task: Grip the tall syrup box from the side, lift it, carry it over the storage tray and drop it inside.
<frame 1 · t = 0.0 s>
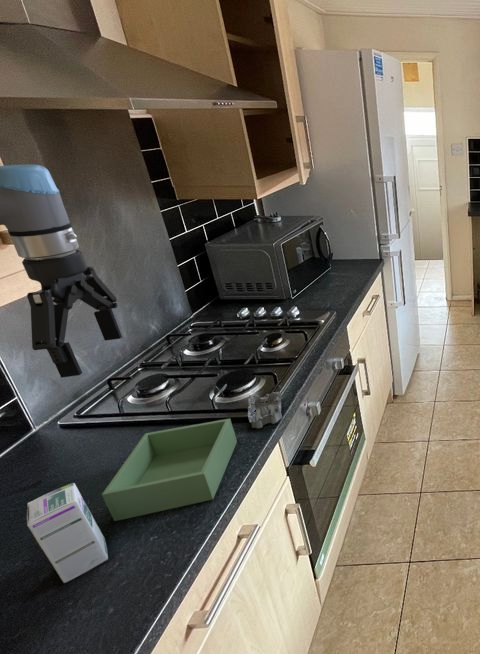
hand: (94, 355, 82), 29 cm above the worktop, tool pointing down, fingers open, 13 cm apart
syrup box: (85, 561, 73), on the worktop
storage tray: (182, 477, 90), on the worktop
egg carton: (267, 414, 109), on the worktop
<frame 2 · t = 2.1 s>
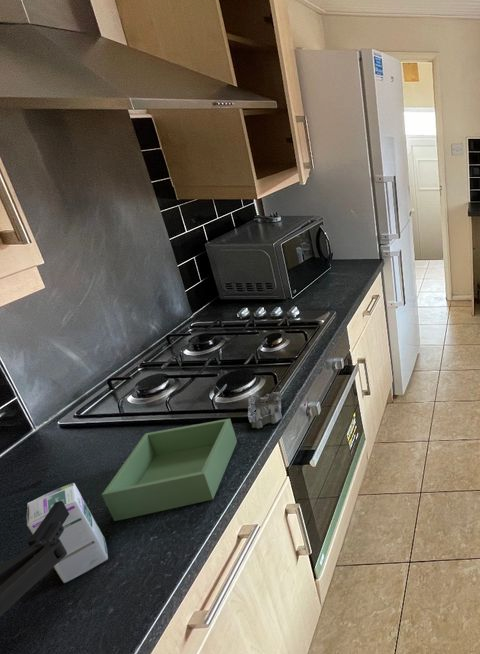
nothing on the worktop moved.
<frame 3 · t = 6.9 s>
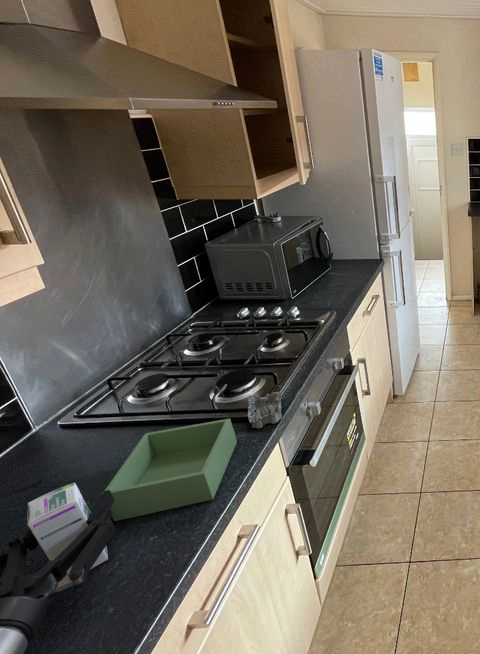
hand: (81, 503, 74), 9 cm above the worktop, tool horizontal, fingers closed on syrup box, 7 cm apart
syrup box: (85, 561, 73), on the worktop, touching gripper
everything else where it was.
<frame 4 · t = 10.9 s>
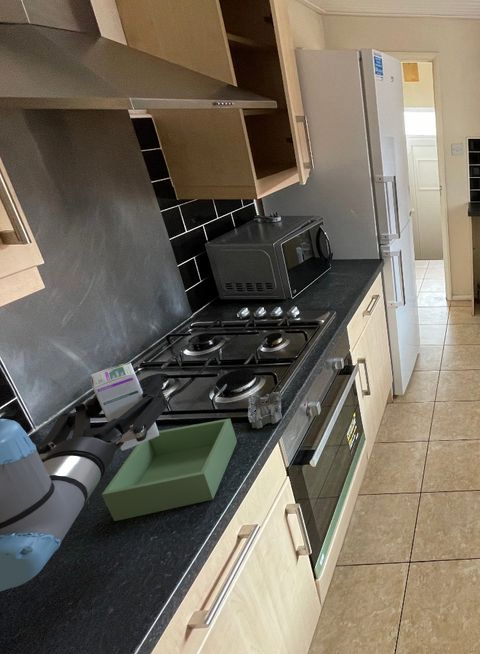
hand: (134, 385, 81), 24 cm above the worktop, tool horizontal, fingers closed on syrup box, 7 cm apart
syrup box: (138, 437, 80), point 15 cm above the worktop, touching gripper
everything else where it was.
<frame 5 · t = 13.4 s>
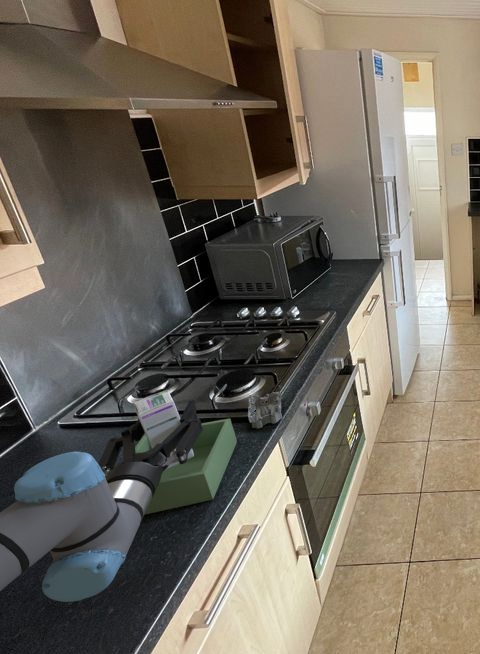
hand: (170, 410, 89), 14 cm above the worktop, tool horizontal, fingers closed on syrup box, 7 cm apart
syrup box: (175, 458, 88), point 5 cm above the worktop, touching gripper
everything else where it was.
when the fingers open (9 cm above the worktop, at t = 15.2 s): syrup box stays where it is, resting on storage tray.
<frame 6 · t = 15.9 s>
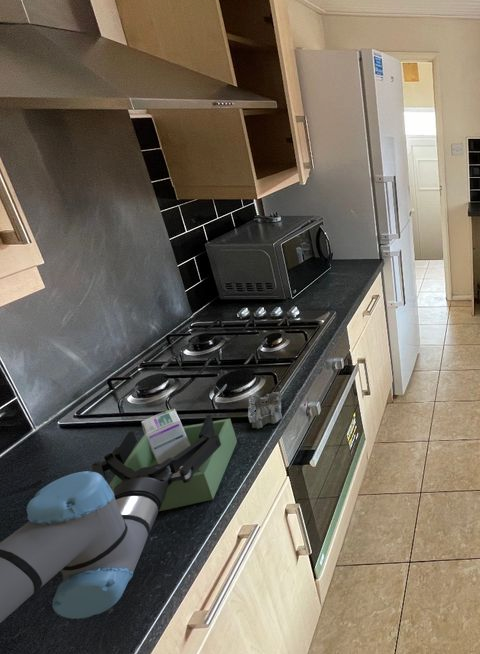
hand: (172, 427, 89), 11 cm above the worktop, tool horizontal, fingers open, 13 cm apart
syrup box: (181, 474, 89), point 1 cm above the worktop, touching storage tray
everything else where it was.
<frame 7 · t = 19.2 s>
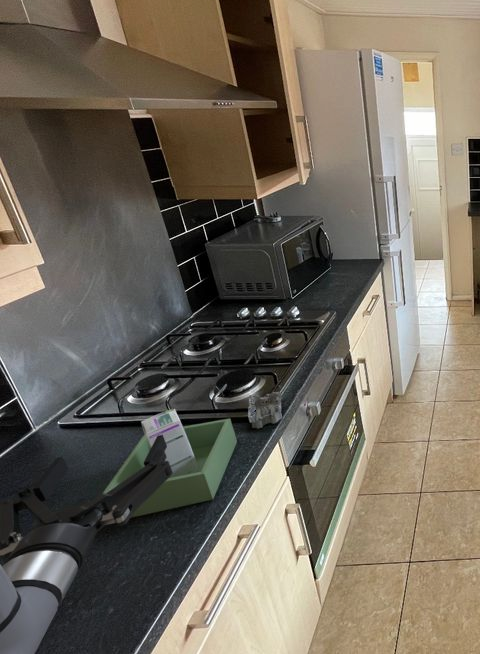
hand: (114, 451, 72), 19 cm above the worktop, tool horizontal, fingers open, 13 cm apart
nothing on the worktop moved.
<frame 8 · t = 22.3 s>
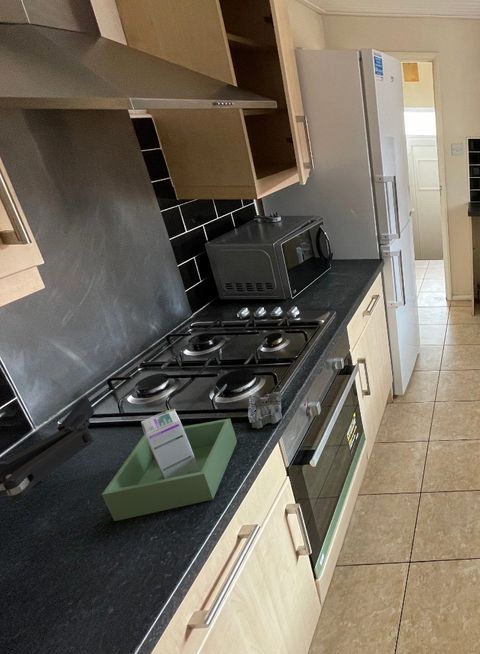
hand: (28, 417, 61), 32 cm above the worktop, tool horizontal, fingers open, 13 cm apart
nothing on the worktop moved.
at the end: syrup box inside the target area in the storage tray (0.1 cm from its centre), point 0.8 cm above the storage tray's base; the gripper is holding nothing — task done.
